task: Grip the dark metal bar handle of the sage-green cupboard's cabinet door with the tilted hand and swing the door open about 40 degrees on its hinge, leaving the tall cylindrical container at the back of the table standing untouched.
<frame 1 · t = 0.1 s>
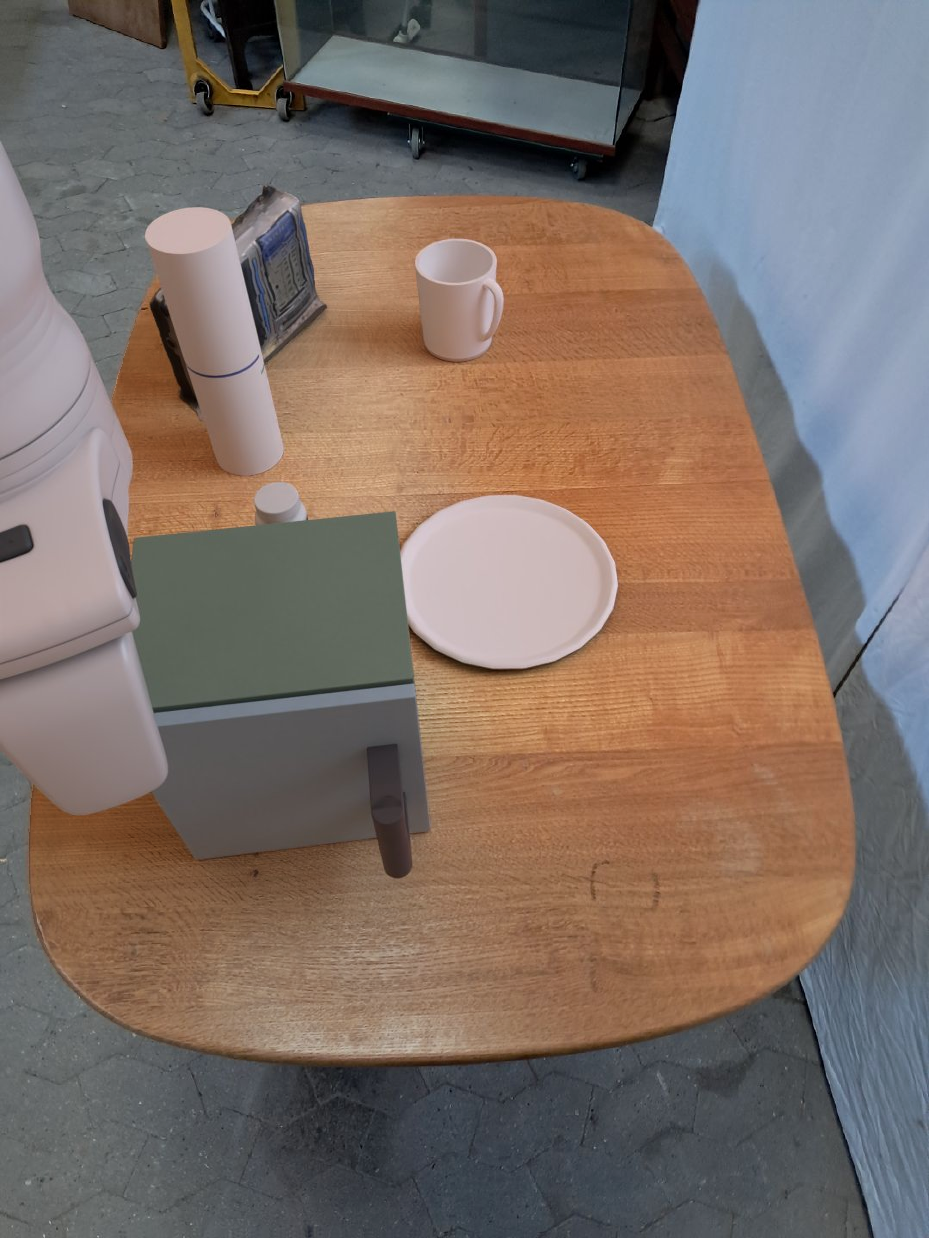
hand: (118, 672, 42), 31 cm above the table, tool pointing down, fingers open, 8 cm apart
plate: (504, 583, 85), on the table
pill bottle: (292, 560, 87), on the table
cylindrical container: (250, 453, 96), on the table
cabinet door: (292, 819, 60), point 10 cm above the table, hinge at 0.0°
radio: (256, 354, 106), on the table
mug: (464, 346, 107), on the table
cupboard: (311, 751, 75), on the table
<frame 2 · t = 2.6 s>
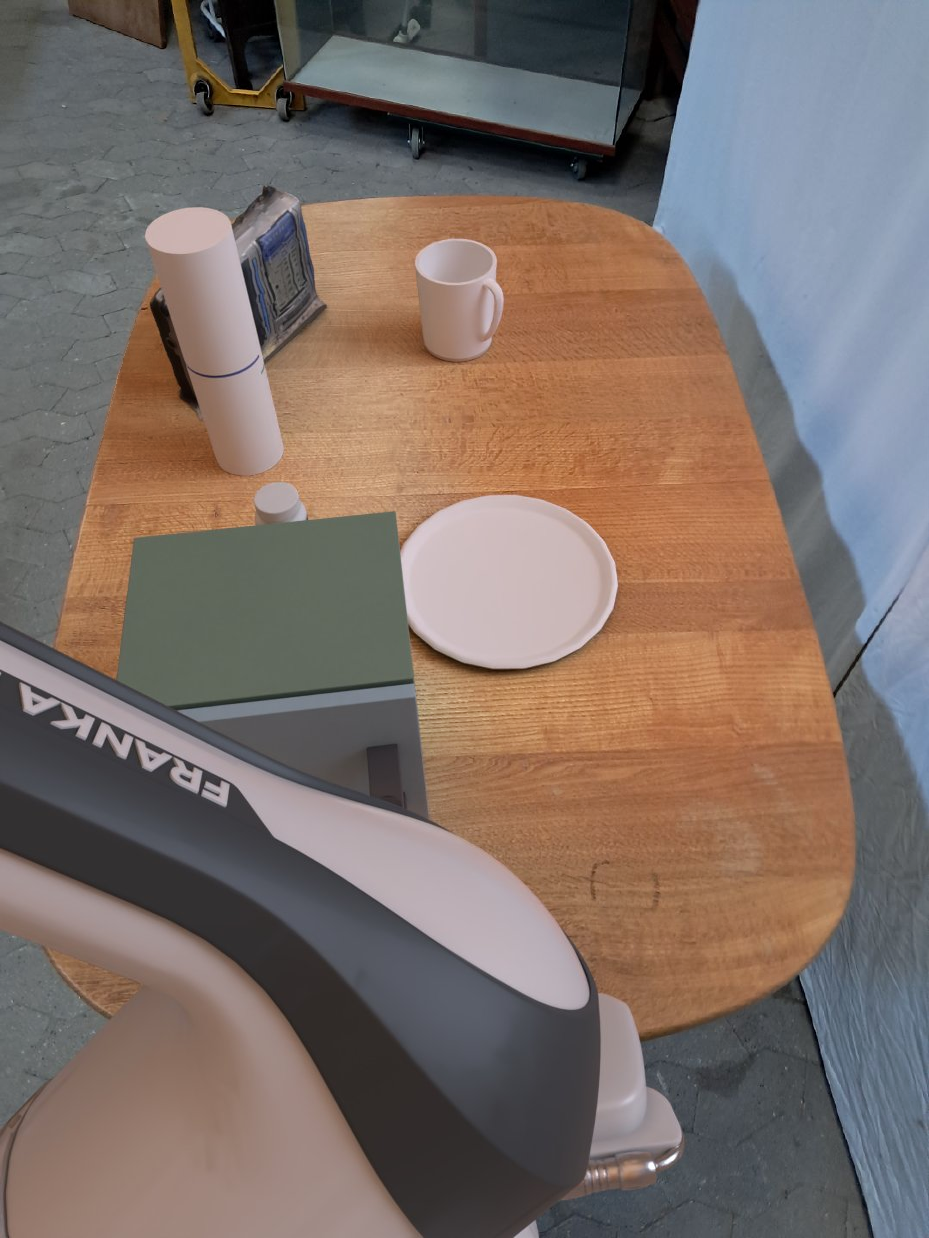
hand: (401, 995, 45), 19 cm above the table, tool tilted 45°, fingers open, 8 cm apart
nothing on the table moved.
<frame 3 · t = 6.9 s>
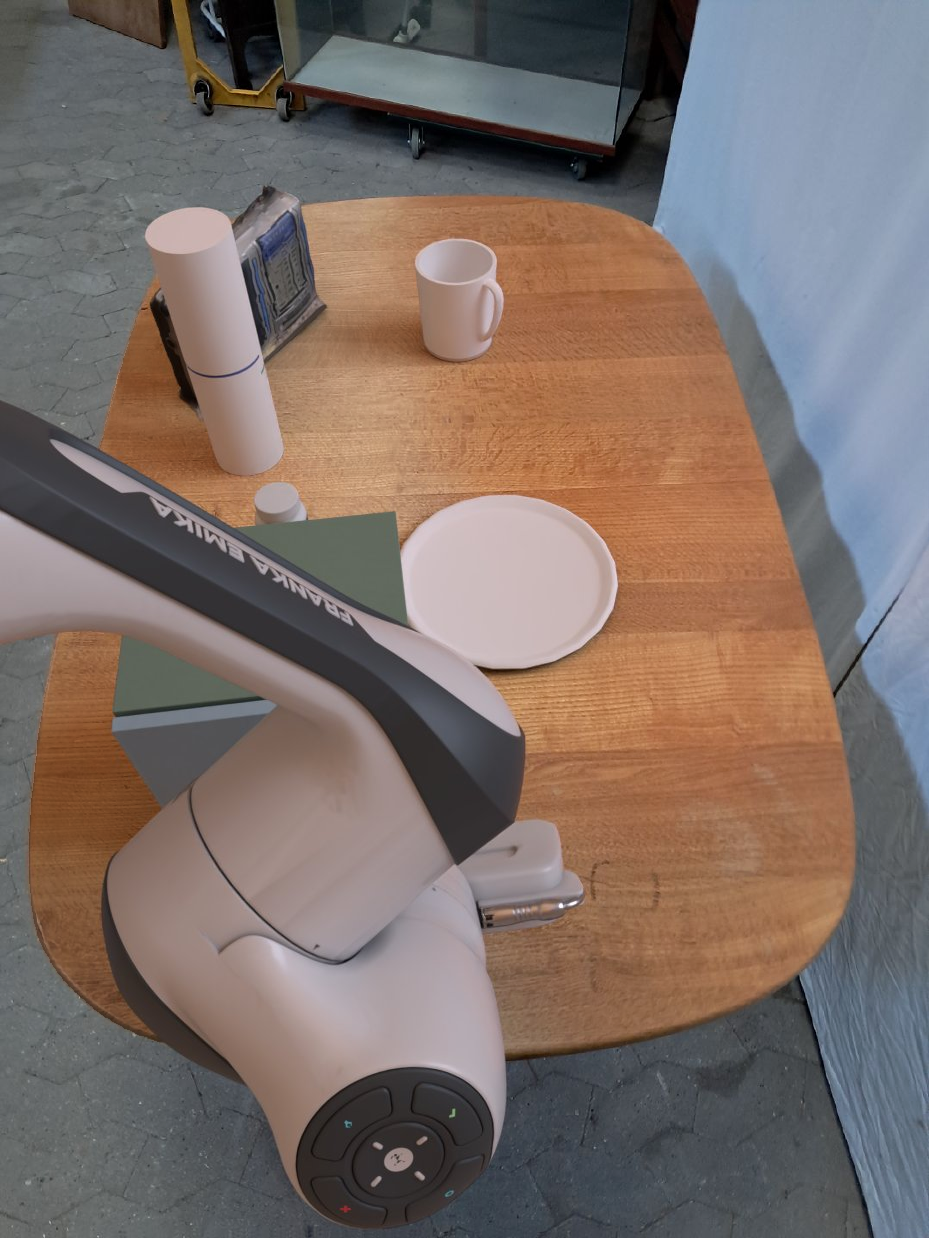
hand: (393, 833, 60), 9 cm above the table, tool tilted 45°, fingers closed on cabinet door, 2 cm apart
cabinet door: (293, 818, 60), point 10 cm above the table, hinge at -0.2°, touching gripper
everything else where it was.
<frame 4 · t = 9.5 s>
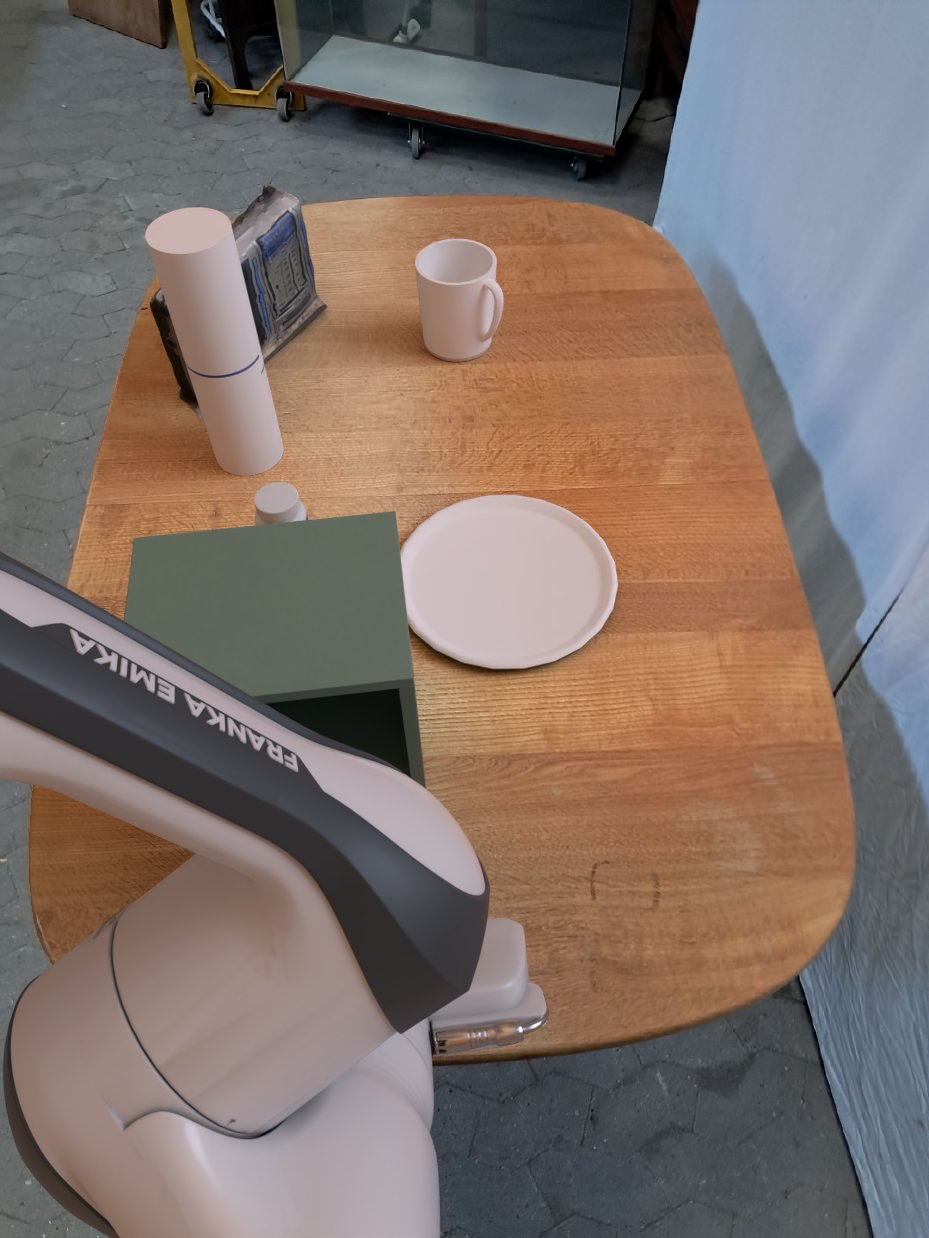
hand: (353, 924, 57), 9 cm above the table, tool tilted 45°, fingers closed on cabinet door, 2 cm apart
cabinet door: (268, 866, 58), point 10 cm above the table, hinge at 21.1°, touching gripper
everything else where it was.
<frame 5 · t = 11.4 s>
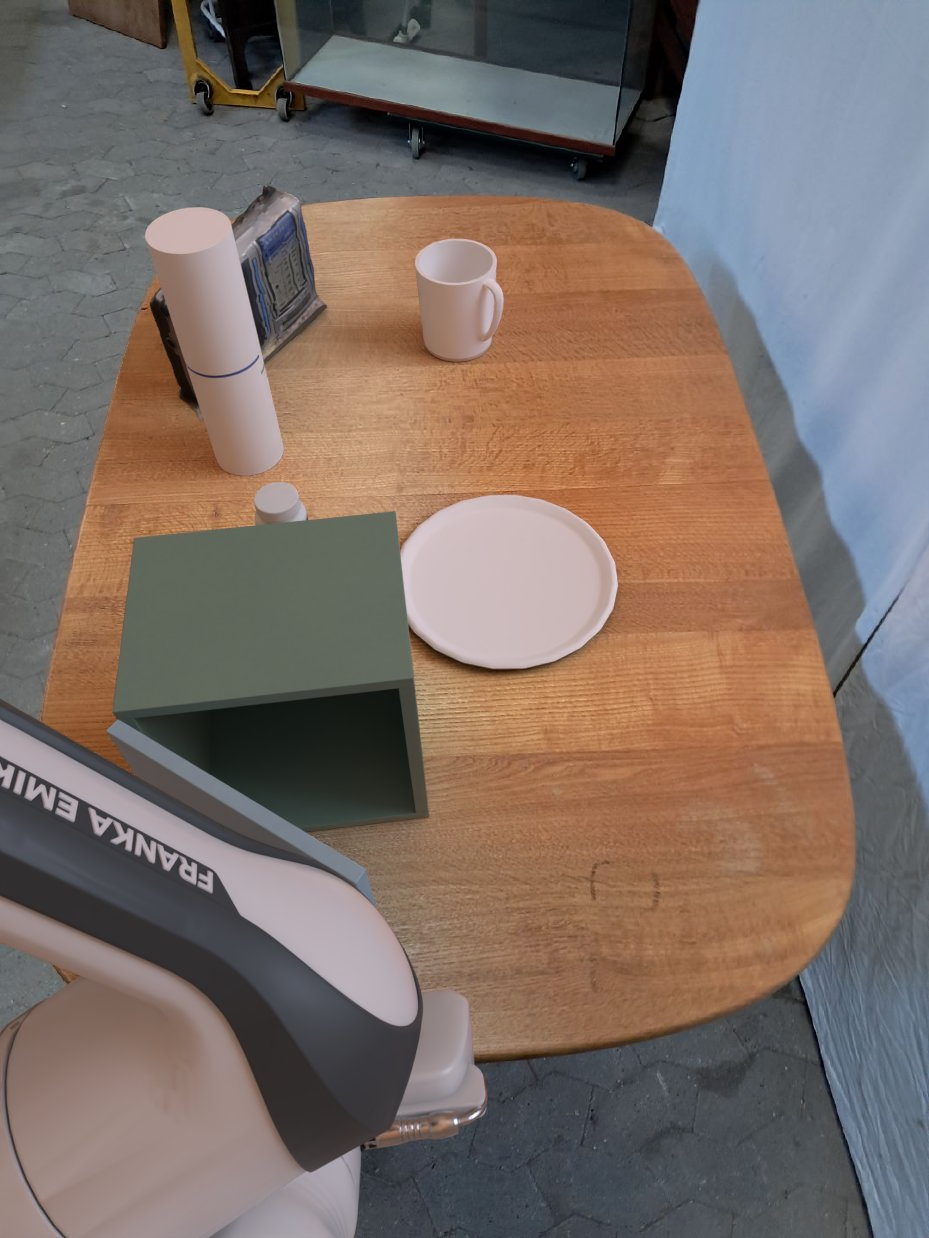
hand: (297, 990, 54), 9 cm above the table, tool tilted 45°, fingers closed on cabinet door, 2 cm apart
cabinet door: (235, 899, 57), point 10 cm above the table, hinge at 38.3°, touching gripper
everything else where it was.
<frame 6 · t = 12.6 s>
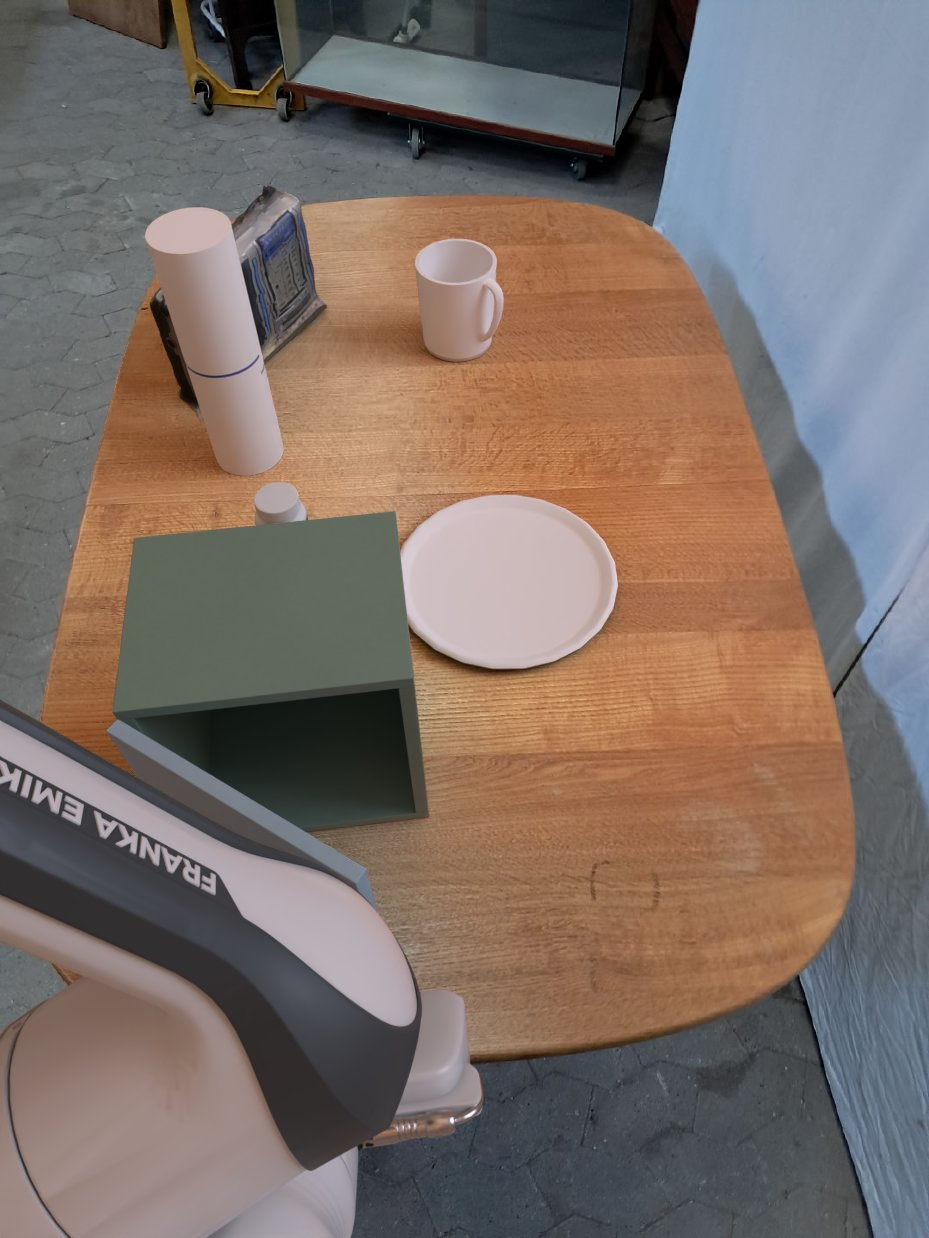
hand: (294, 990, 55), 9 cm above the table, tool tilted 45°, fingers open, 8 cm apart
cabinet door: (235, 899, 57), point 10 cm above the table, hinge at 38.2°
everything else where it was.
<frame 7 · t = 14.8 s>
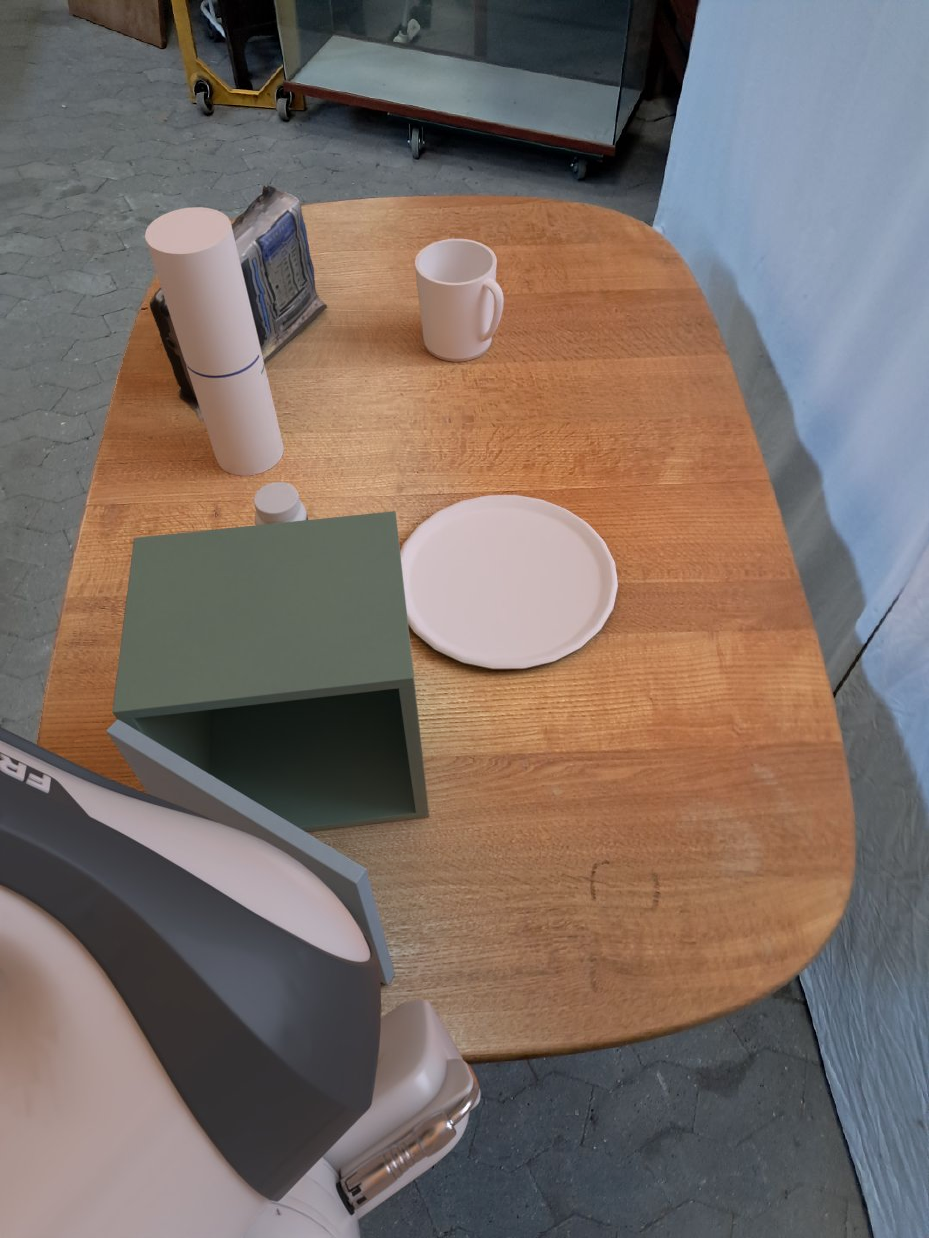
hand: (254, 1102, 45), 16 cm above the table, tool tilted 35°, fingers open, 8 cm apart
nothing on the table moved.
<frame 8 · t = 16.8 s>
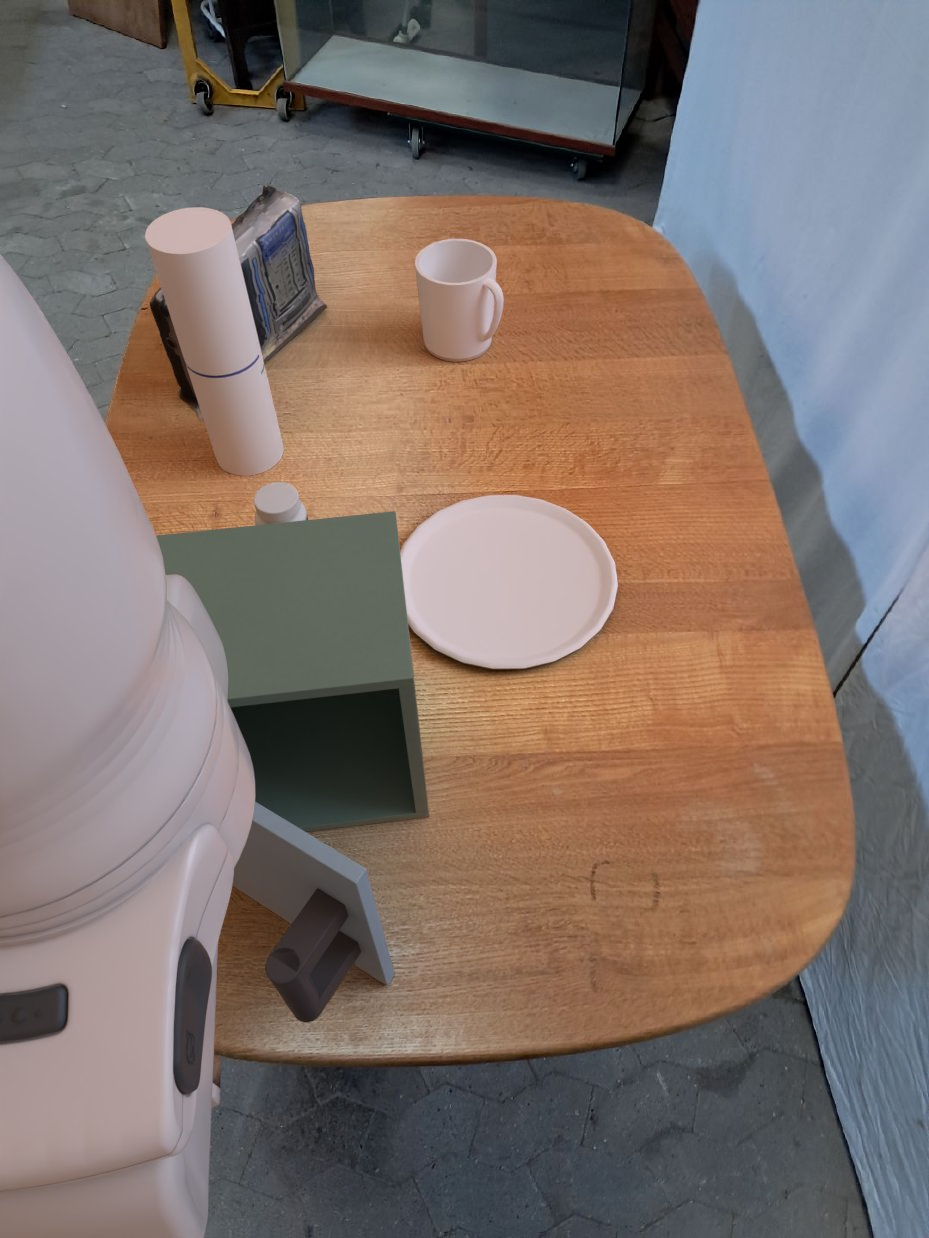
hand: (204, 949, 34), 31 cm above the table, tool pointing down, fingers open, 8 cm apart
nothing on the table moved.
at the end: cabinet door at +38° (first picture: +0°); cylindrical container moved 0.2 cm from its start; cylindrical container tilted 0° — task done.
